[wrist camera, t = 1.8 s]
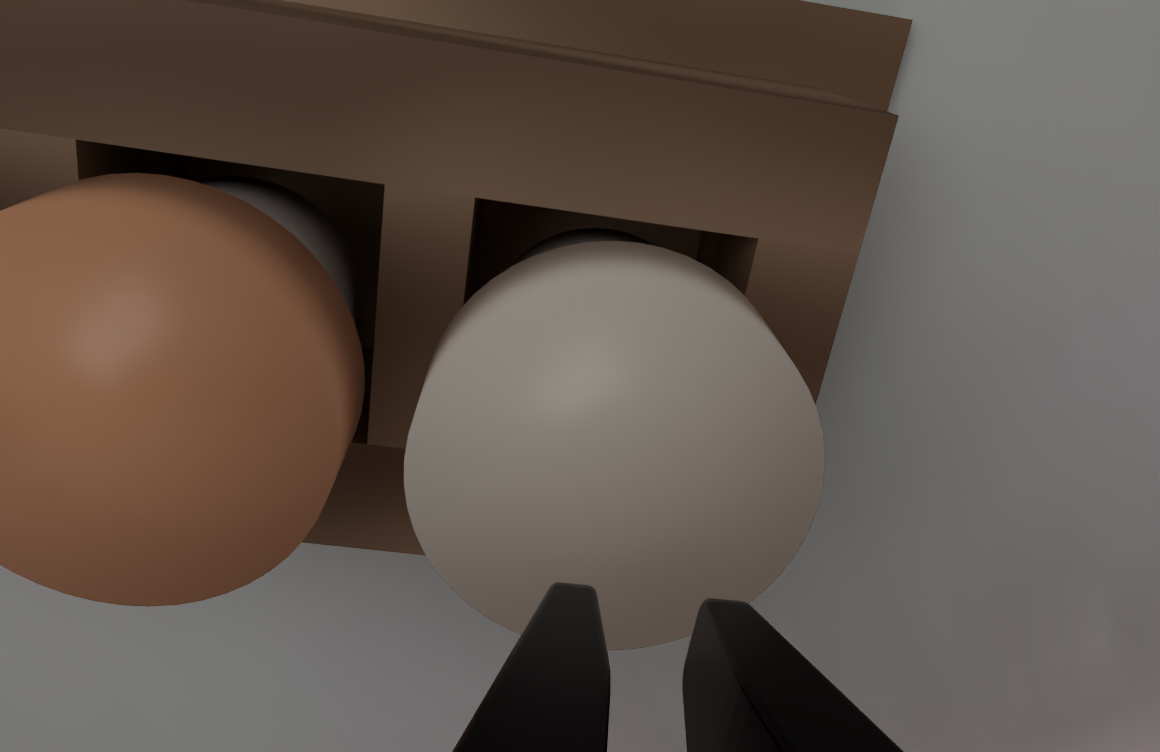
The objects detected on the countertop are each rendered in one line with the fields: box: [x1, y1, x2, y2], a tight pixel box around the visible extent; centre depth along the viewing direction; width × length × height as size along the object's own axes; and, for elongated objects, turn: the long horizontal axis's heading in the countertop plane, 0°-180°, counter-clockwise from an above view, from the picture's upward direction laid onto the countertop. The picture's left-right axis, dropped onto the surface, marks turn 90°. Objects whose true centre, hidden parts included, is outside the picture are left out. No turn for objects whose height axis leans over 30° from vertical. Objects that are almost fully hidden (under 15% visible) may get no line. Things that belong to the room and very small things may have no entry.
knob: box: [404, 228, 825, 650], centre depth 13 cm, size 5×5×5 cm
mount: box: [0, 0, 912, 555], centre depth 17 cm, size 12×23×5 cm, turn 81°
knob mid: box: [0, 173, 365, 606], centre depth 13 cm, size 5×5×5 cm
